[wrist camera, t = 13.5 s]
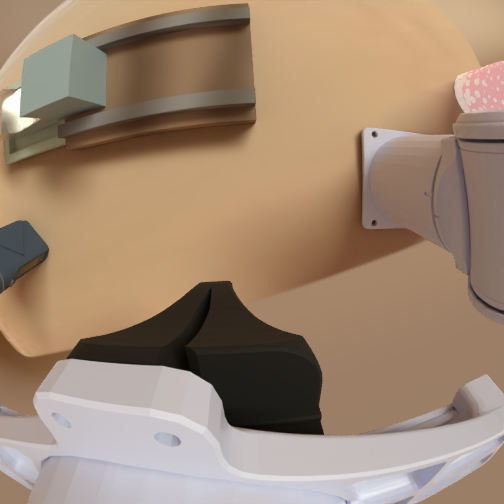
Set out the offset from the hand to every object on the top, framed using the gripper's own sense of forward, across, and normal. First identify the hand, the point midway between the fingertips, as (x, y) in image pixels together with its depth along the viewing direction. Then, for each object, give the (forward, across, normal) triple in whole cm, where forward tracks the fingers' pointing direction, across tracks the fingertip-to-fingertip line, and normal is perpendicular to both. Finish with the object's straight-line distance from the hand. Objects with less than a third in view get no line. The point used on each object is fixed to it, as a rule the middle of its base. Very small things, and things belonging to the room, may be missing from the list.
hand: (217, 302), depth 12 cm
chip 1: (+8, +17, -13) cm, 23 cm away
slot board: (+10, +5, -13) cm, 17 cm away
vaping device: (+11, +20, -1) cm, 22 cm away
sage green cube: (+8, +10, -13) cm, 19 cm away
